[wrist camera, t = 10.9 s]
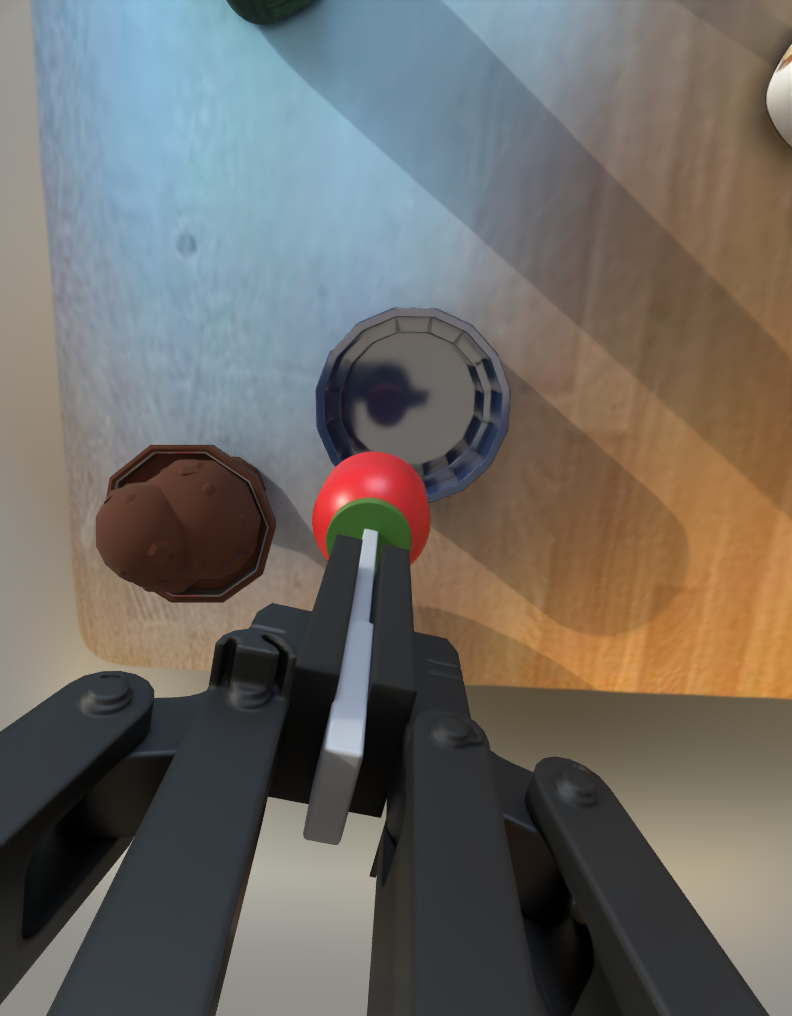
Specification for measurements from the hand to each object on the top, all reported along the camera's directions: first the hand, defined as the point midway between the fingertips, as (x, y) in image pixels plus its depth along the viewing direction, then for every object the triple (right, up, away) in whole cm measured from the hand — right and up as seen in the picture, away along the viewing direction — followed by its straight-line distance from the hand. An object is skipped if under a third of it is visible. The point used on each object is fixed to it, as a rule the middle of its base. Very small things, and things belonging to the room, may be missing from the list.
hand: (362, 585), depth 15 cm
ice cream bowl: (-12, +4, +28) cm, 31 cm away
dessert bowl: (+2, +10, +26) cm, 28 cm away
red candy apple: (0, +2, +8) cm, 8 cm away
